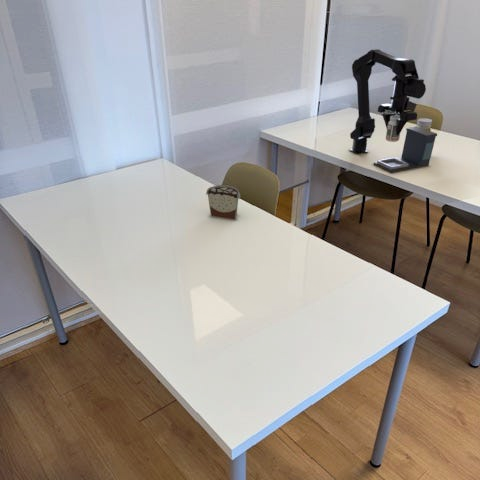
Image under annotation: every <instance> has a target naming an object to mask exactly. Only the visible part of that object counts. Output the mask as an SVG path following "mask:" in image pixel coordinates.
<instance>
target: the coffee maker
mask: <svg viewBox="0 0 480 480" xmlns="http://www.w3.org/2000/svg"><path fill="white" fill-rule="evenodd" d="M405 129H406V130H405V131H406V133H405V138H404V143H403V146H402V147H403V148H402V152H401V157H388V158H383V159H378V160H377V161H374V162H373V166H376V168H377V167H378V168H379V169H381V170H384V171H385V172H388V173H389V174H395V173H400V172H405V171H410V170H415V169H420V168H426V167H430V162H431V157H432V153H433V150H434V146H435V142H436V138H437V136H438V133H437V132H434V131H432V130H431V131H428V130H426V129H423V128H420V127H417V125H416V126H411V127H406V128H405Z"/></svg>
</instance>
